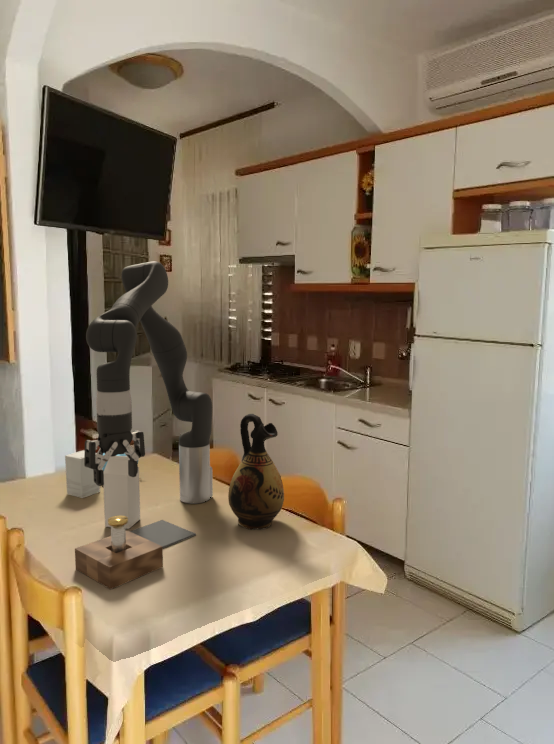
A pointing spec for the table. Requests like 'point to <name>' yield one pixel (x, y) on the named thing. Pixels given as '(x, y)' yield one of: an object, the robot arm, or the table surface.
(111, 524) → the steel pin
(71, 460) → the supplement box
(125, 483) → the milk carton
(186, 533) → the rubber mat
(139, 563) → the walnut block
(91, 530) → the table surface
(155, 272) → the robot arm
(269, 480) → the ceramic jug
